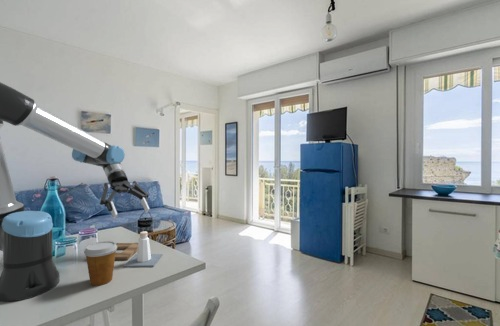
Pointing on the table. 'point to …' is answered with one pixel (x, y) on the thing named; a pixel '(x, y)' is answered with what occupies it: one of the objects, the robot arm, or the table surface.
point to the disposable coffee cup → (100, 261)
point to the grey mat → (150, 263)
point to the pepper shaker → (143, 248)
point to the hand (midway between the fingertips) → (132, 213)
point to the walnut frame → (126, 250)
